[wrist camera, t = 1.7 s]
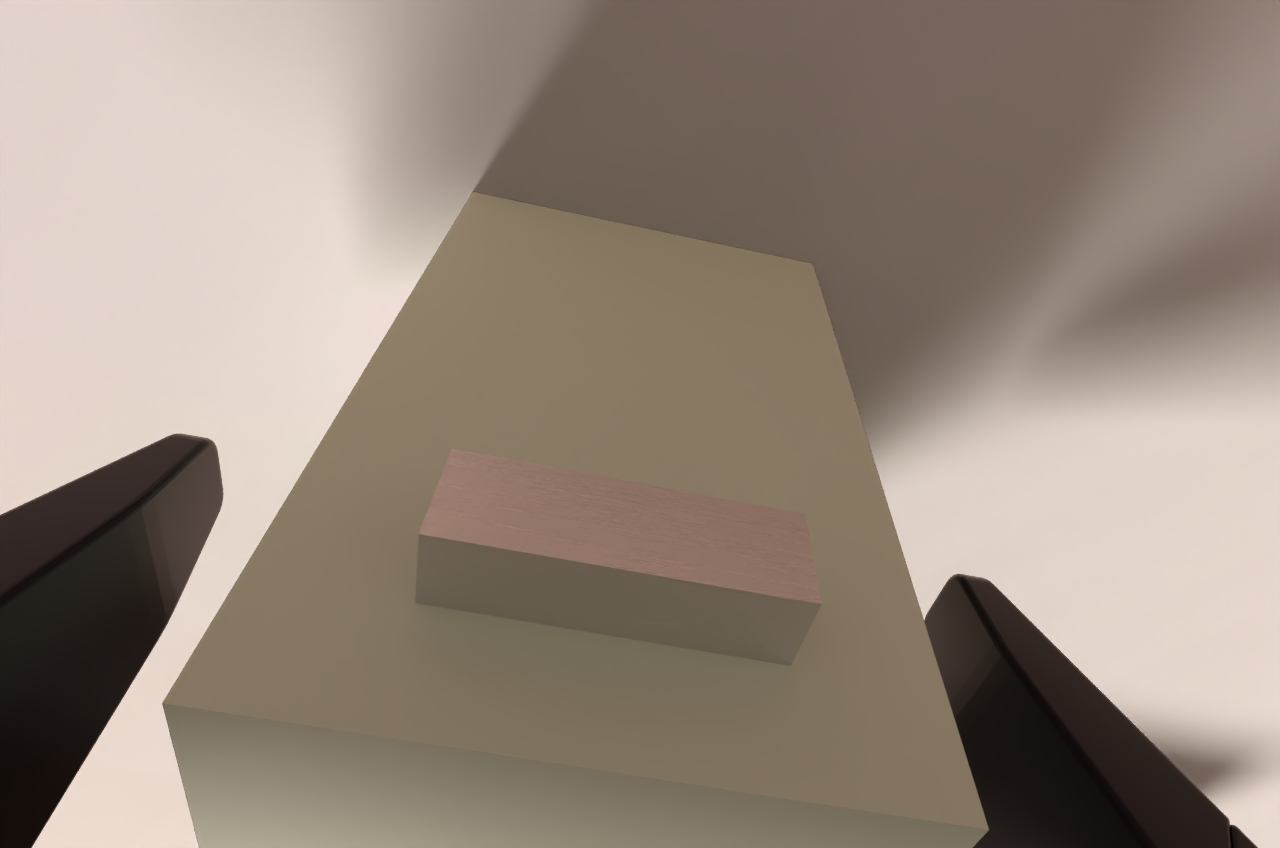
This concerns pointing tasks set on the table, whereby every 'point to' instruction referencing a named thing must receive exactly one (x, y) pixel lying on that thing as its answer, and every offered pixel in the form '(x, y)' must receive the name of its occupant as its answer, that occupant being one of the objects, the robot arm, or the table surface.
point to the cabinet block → (581, 578)
